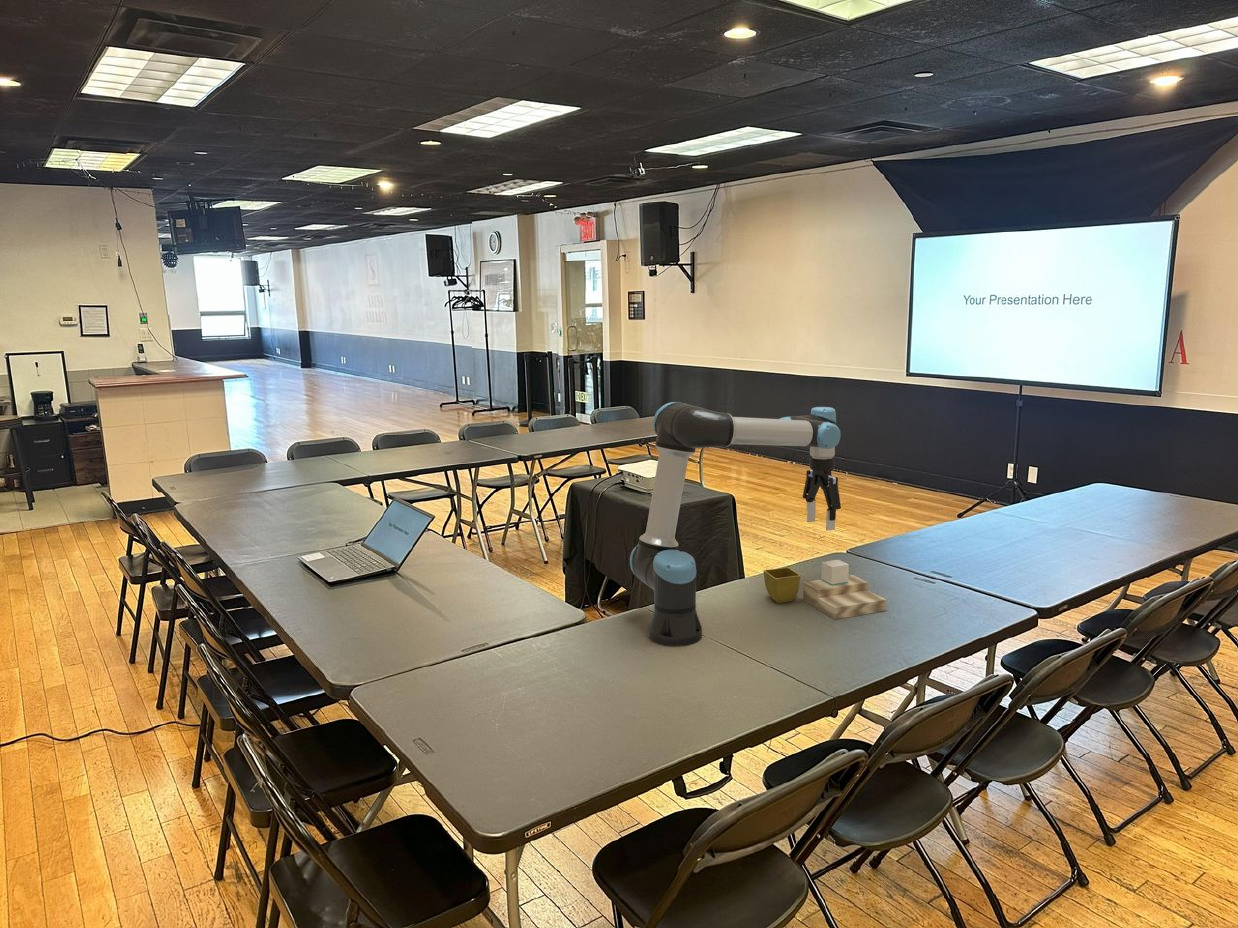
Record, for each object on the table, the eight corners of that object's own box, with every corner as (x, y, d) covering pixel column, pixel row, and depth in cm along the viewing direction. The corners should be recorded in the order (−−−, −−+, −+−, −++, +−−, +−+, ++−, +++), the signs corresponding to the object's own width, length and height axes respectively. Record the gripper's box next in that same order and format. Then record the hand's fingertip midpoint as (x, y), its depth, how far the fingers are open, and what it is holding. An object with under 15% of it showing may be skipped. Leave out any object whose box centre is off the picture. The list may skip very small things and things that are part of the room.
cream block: (831, 585, 245) (832, 567, 244) (821, 580, 250) (821, 561, 249) (848, 583, 247) (848, 564, 246) (837, 577, 252) (838, 559, 251)
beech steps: (834, 619, 234) (835, 599, 233) (803, 600, 250) (803, 581, 249) (885, 610, 240) (886, 591, 239) (851, 592, 256) (852, 574, 255)
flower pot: (774, 606, 245) (775, 578, 244) (762, 596, 254) (762, 569, 252) (800, 603, 248) (801, 575, 246) (787, 593, 256) (788, 566, 254)
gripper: (854, 462, 240) (852, 533, 244) (812, 450, 261) (810, 516, 265) (833, 464, 237) (831, 536, 242) (792, 452, 258) (791, 518, 263)
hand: (820, 525), depth 253 cm, fingers open, 10 cm apart
